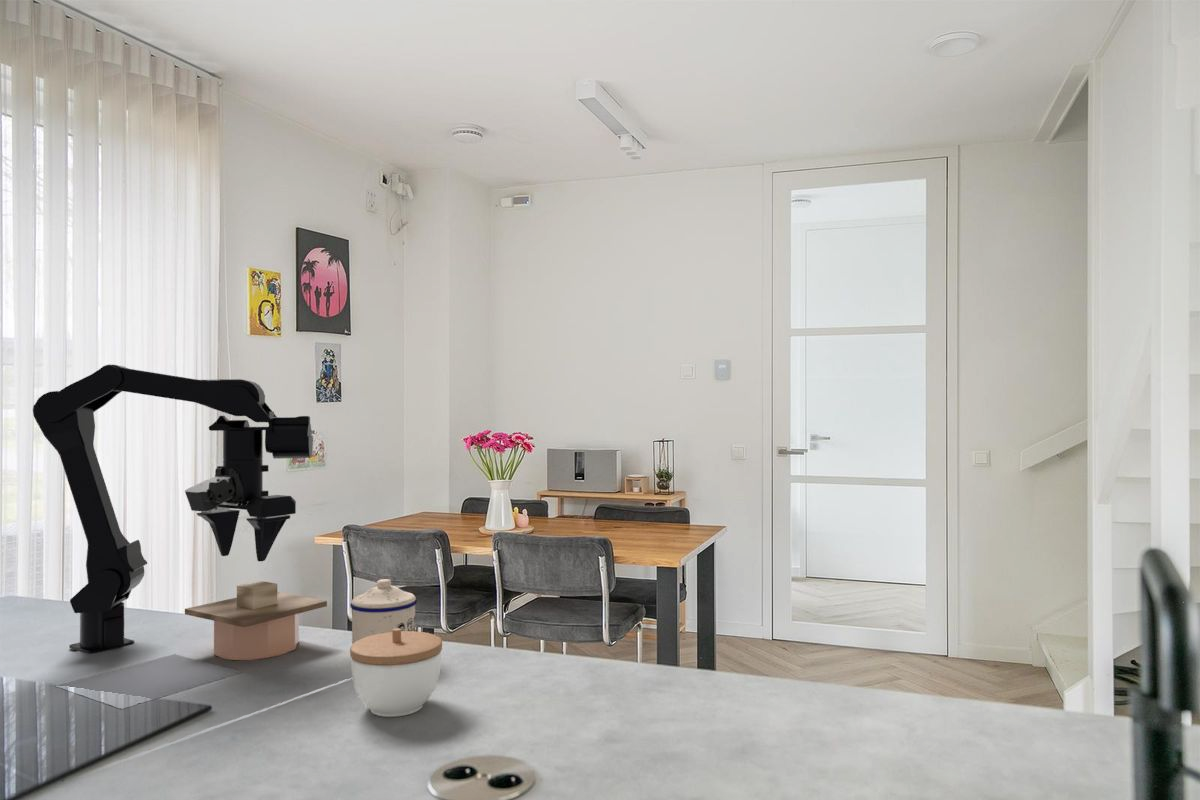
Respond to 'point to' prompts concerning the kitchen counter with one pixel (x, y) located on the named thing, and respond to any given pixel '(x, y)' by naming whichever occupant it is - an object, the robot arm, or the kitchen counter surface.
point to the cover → (255, 605)
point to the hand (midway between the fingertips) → (242, 558)
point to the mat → (155, 677)
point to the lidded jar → (396, 671)
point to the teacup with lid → (382, 611)
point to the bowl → (256, 639)
